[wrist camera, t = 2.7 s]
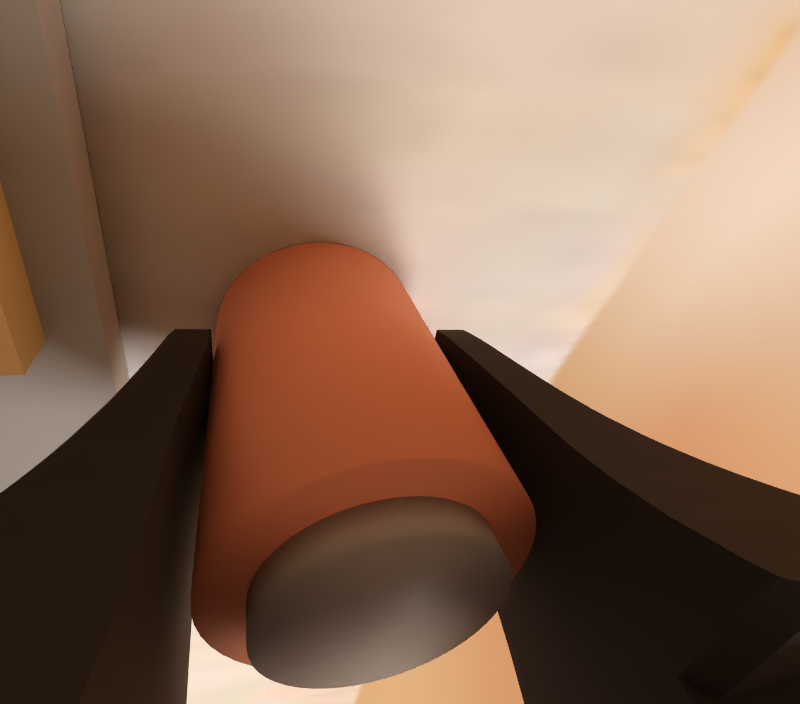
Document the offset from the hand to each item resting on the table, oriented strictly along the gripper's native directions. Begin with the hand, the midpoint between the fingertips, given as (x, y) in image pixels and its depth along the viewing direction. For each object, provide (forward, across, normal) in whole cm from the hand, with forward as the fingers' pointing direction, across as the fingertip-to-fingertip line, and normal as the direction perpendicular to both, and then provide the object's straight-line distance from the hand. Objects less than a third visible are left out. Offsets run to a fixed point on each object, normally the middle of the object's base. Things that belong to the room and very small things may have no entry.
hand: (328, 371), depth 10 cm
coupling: (+1, 0, 0) cm, 1 cm away
